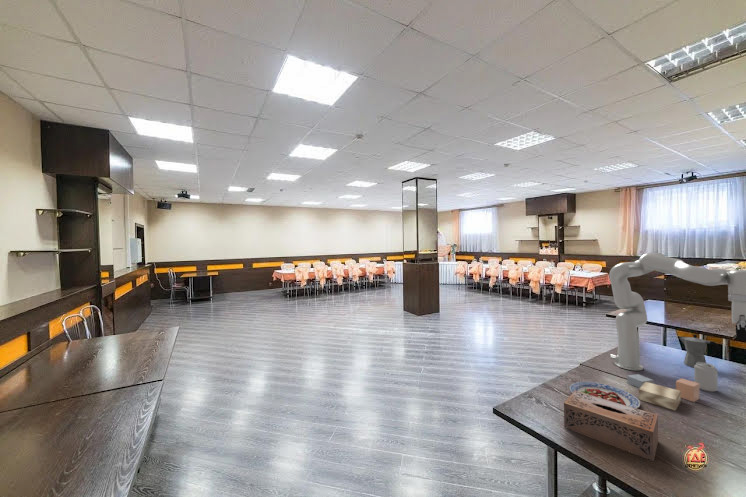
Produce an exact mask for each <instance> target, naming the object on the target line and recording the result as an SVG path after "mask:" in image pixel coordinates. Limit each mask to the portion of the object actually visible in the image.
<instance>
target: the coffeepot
mask: <svg viewBox="0 0 746 497" xmlns="http://www.w3.org/2000/svg"><path fill="white" fill-rule="evenodd" d="M692 336H693V337H691V336H690V337H689V336H687V337H685V336H684V337H683V336H682V337H678V339H680V341H681V342H682V344H683V345H684V348H685V350H686V352H685V356H684V361H683V364H684V365H686V367H689V366H690V367H689V368H693V369H694V366H695V365H696V363H697V362H703V363H707V360H706V357H705V354H704V353H706V349H707V345H709V346H713V347H712V350H711V353H707V356H709V357H714V356H715V353H716V352H717V350H718V349H719V344H718V343H717V342H715V341H711V340H705V339H702V338H699V337H698V335H697V334H692Z"/></svg>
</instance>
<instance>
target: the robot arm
mask: <svg viewBox="0 0 746 497" xmlns="http://www.w3.org/2000/svg"><path fill="white" fill-rule="evenodd" d="M654 271H656V272H659V273H664V274H666V275H671V276H675V277H676V278H679V279H682V280H685V281H688V282H691V283H695V284H700V285H703V286H709V287H715V286H721V285H727V289H728V290H727V293H728V295H727V298H728V299H727V300H728V302H731V323H732V324H734V325H735V334H736V339H738V340H746V270H744V269H726V268H725V269H724V268H710V269H708V268H704V267H703V268H702V267H700V266H696V265H695V266H694V265H691V264H688V263H686V262H684V260H682V259H680V258H676V257H670V256H666V255H664V254H663V253H660V252H649V253H644V254H642V255H641V256H640V257H639V258H638V260H635V261H629V262H625V261H624V262H621V263H618V264H615V265H614V266H612V268H611V269H610V270H609V277H608V278H609V282H610V284H611V290H612V295H613V300H614V304H615V306H616V307H617V308H619V309H620V310H625V311H621V312H619V313H617V315H616V317H615V321H614V322H615V325H616V332H617V333H616V334H617V355H615V354H610V356H609V357H610V359H611V360H615V361H614V365H615V366H616V367H618V368H621V369H624V370H629V371H635V372H637V371H643V370H644V366H643V365H642V364H640V336H639V331H638V328H639V327H643V326H644V325H646V324H647V321H648V315H647V311H646V304H645V302H644V298H643V297H642V296H641V294H639V293H638V292H636V291H632V288H631V284H630V281H629V280H628V278H632V277H633V278H634V277H640V276H644V275H646V274H649V273H651V272H654Z"/></svg>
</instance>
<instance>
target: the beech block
mask: <svg viewBox="0 0 746 497" xmlns="http://www.w3.org/2000/svg"><path fill="white" fill-rule="evenodd" d="M638 400H639V401H642V402H647V403H649V404H653V405H656V406H659V407H663V408H665V409H669V410H672V411H677V409H678V408H679V407H680V406H679V405H680V403H681V402H682V398H681V391H679V390H676V388H671V387H668V386H667V387H666V386H664V385H660V384H656V383H653V384H652V383H649V382H645V383H644V384H643V385H642V386H641V387H640V388H638Z"/></svg>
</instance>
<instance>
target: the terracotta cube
mask: <svg viewBox="0 0 746 497" xmlns="http://www.w3.org/2000/svg"><path fill="white" fill-rule="evenodd" d="M675 390H679V391H681V399H683V400H687V401H689V402H693V403H695V402H696V401H698V400H699V399H700V389H699V383H696V382H695V381H692V380H688V379H685V378H681V377H680V378H679V379H678V380H676V381H675Z"/></svg>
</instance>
